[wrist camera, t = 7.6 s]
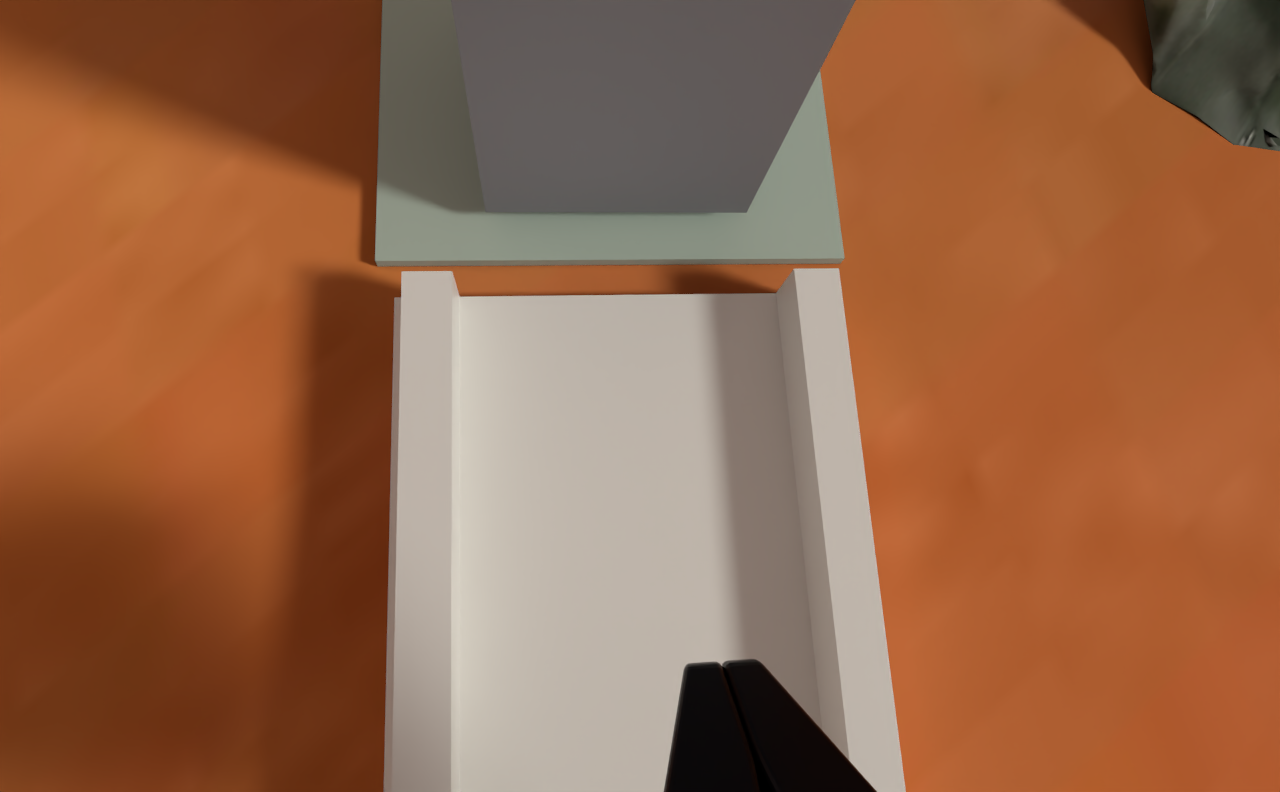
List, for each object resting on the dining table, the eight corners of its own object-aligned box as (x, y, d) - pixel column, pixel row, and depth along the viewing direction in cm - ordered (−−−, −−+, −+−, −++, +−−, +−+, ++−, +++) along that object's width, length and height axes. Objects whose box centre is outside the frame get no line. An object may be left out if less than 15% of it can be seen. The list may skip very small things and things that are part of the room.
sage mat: (840, 263, 19) (844, 258, 19) (377, 266, 18) (374, 261, 18) (797, -71, 22) (800, -80, 21) (387, -91, 20) (385, -101, 20)
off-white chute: (912, 1024, 15) (965, 1085, 13) (384, 1093, 14) (357, 1173, 12) (825, 302, 19) (856, 268, 17) (399, 307, 18) (381, 271, 16)
